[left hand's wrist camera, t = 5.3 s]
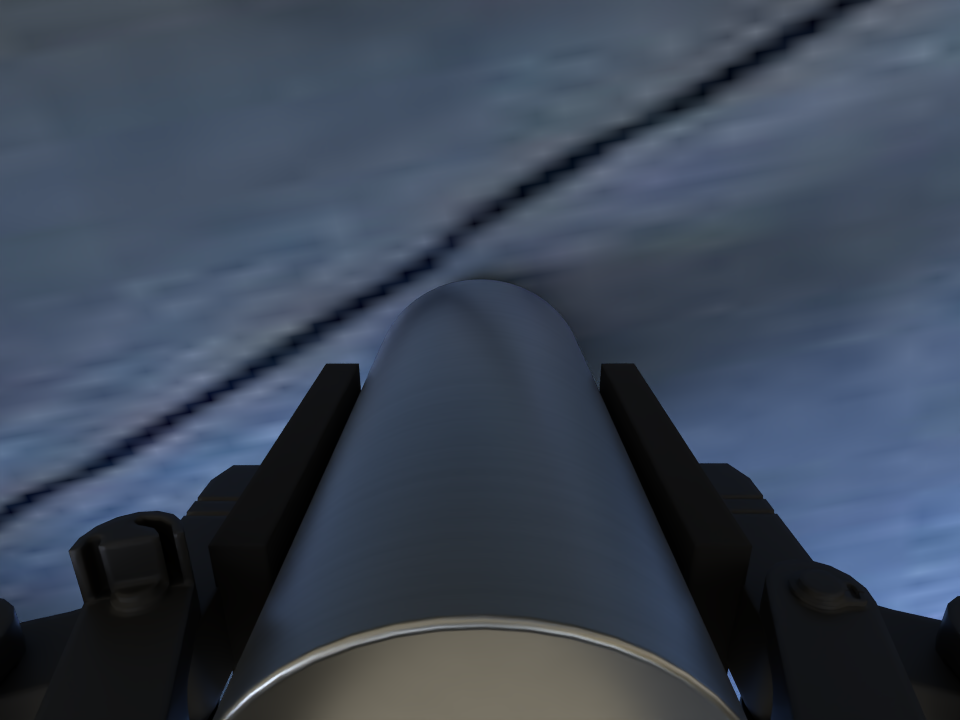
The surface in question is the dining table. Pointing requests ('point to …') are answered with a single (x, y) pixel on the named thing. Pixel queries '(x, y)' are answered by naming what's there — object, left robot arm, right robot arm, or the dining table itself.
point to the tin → (479, 545)
